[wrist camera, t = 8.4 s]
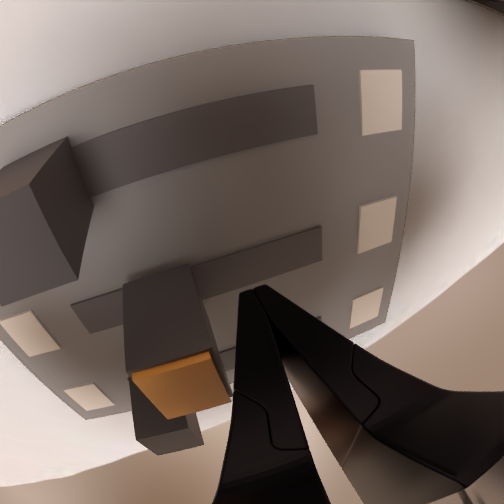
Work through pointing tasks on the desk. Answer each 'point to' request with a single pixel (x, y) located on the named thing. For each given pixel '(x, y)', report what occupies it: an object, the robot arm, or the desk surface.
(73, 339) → the panel
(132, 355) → the block
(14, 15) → the desk surface
